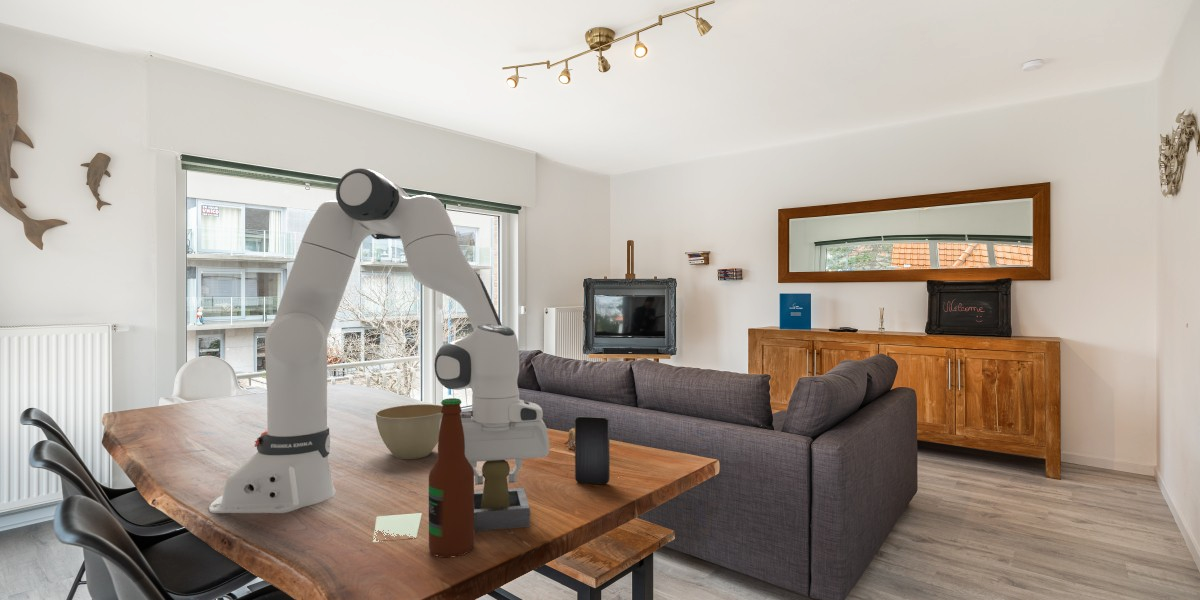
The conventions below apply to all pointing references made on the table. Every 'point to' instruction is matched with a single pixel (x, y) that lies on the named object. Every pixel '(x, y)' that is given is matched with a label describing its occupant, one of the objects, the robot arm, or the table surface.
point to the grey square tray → (502, 512)
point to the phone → (592, 450)
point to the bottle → (451, 488)
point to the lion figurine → (571, 434)
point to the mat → (398, 524)
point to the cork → (495, 484)
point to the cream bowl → (410, 429)
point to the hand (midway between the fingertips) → (495, 482)
